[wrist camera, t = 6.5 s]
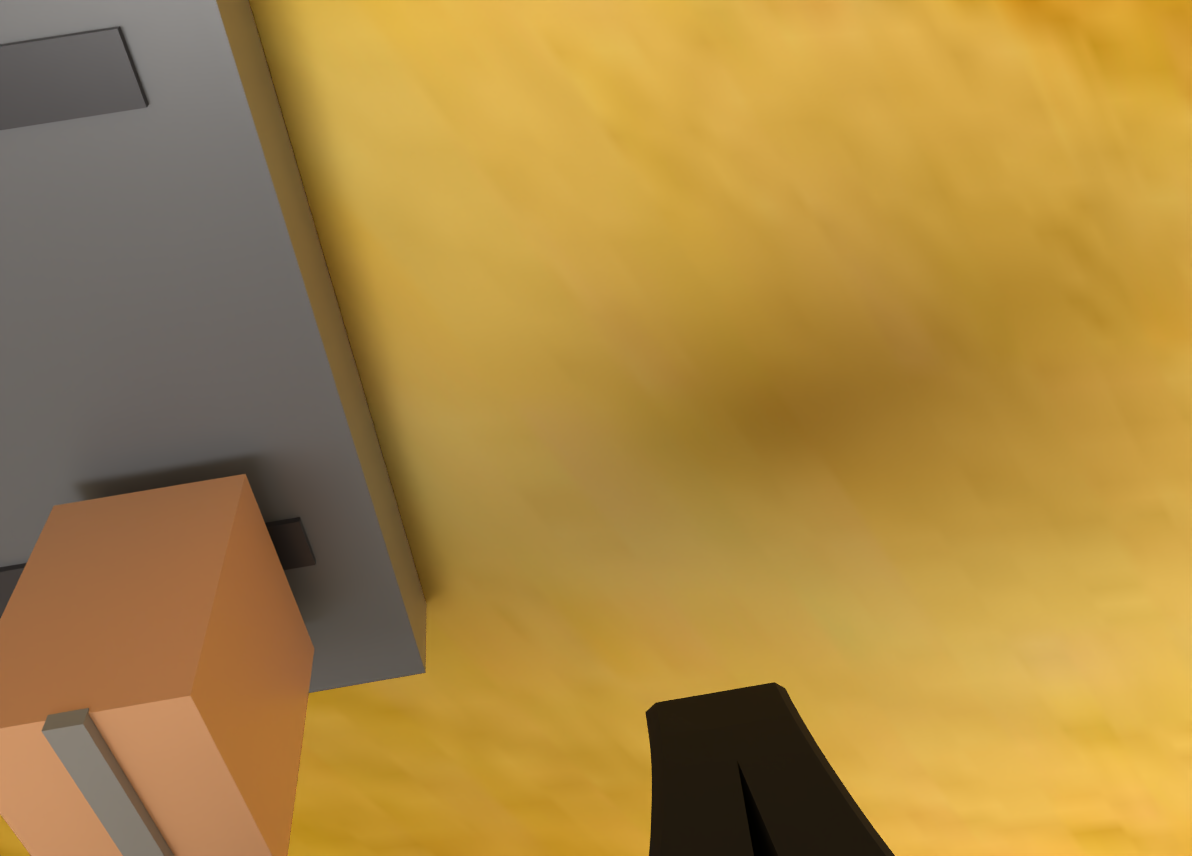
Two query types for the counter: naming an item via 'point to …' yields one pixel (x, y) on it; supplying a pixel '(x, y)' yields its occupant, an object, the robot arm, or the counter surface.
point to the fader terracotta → (153, 680)
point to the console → (184, 311)
